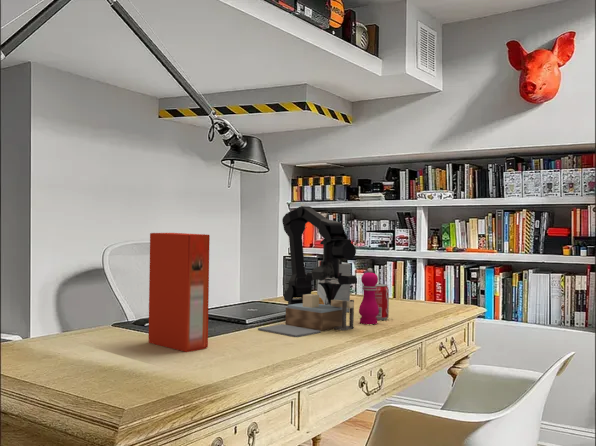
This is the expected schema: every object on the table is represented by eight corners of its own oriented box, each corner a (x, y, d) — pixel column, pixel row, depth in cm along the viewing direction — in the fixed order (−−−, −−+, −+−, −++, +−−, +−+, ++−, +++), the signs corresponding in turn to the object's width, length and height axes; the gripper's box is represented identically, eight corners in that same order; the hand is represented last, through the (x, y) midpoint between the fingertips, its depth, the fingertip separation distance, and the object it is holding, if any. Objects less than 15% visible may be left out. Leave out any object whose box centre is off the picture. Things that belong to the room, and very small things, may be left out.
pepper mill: (372, 325, 219) (373, 269, 219) (354, 323, 223) (356, 267, 223) (382, 323, 225) (383, 268, 225) (365, 320, 229) (366, 266, 229)
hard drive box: (316, 307, 261) (317, 260, 261) (332, 307, 264) (333, 260, 264) (333, 313, 247) (334, 263, 247) (350, 312, 250) (351, 263, 250)
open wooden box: (285, 325, 216) (286, 296, 216) (309, 321, 226) (310, 294, 226) (330, 333, 203) (331, 303, 203) (354, 328, 212) (354, 299, 212)
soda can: (389, 320, 231) (390, 286, 231) (370, 320, 231) (371, 285, 231) (387, 317, 238) (388, 284, 238) (368, 317, 238) (369, 283, 238)
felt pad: (257, 329, 205) (257, 328, 205) (282, 325, 214) (282, 324, 214) (296, 337, 194) (296, 335, 194) (320, 332, 203) (320, 330, 203)
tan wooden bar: (330, 305, 214) (331, 299, 214) (335, 305, 216) (335, 299, 216) (349, 308, 209) (349, 302, 209) (353, 307, 210) (353, 301, 210)
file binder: (184, 352, 168) (187, 234, 168) (147, 342, 180) (150, 232, 180) (207, 348, 174) (210, 234, 174) (170, 339, 186) (172, 232, 186)
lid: (287, 310, 216) (287, 293, 216) (308, 307, 224) (308, 291, 224) (321, 315, 206) (321, 298, 206) (341, 312, 214) (342, 295, 214)
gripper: (295, 257, 216) (294, 302, 216) (338, 260, 203) (337, 307, 203) (316, 256, 224) (315, 299, 224) (358, 259, 212) (357, 305, 212)
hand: (330, 302), depth 215 cm, fingers closed
